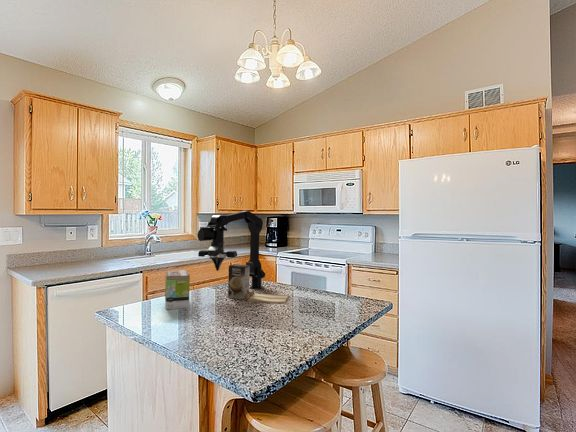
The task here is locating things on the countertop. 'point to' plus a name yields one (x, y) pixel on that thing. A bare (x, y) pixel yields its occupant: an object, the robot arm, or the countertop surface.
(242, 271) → the coffee box
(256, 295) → the maple board
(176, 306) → the tea box
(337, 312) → the countertop surface
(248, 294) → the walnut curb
